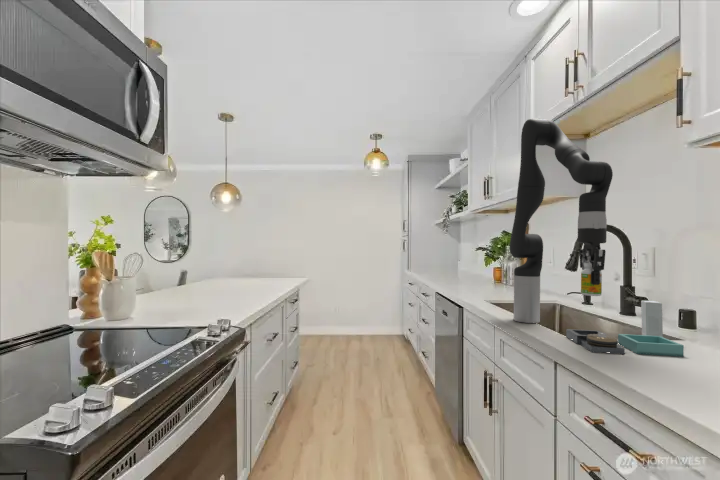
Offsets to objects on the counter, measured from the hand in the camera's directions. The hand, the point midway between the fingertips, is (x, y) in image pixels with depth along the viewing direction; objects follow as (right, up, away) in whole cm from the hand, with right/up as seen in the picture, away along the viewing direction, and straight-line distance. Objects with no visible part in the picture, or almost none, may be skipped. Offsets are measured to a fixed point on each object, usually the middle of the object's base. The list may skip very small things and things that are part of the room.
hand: (591, 283), depth 119 cm
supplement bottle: (0, -4, 0) cm, 4 cm away
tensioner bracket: (-2, -17, -4) cm, 18 cm away
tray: (+11, -18, -9) cm, 22 cm away
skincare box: (+20, -18, +2) cm, 27 cm away
